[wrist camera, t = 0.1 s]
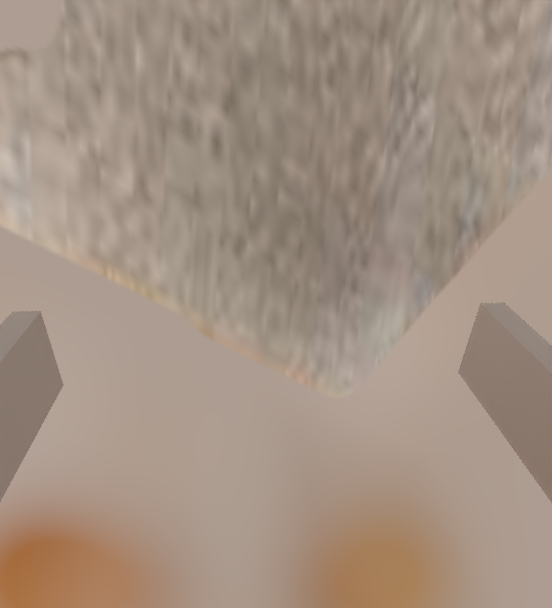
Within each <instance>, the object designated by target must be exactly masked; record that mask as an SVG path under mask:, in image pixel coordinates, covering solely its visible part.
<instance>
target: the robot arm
mask: <svg viewBox="0 0 552 608" xmlns="http://www.w3.org/2000/svg"><path fill="white" fill-rule="evenodd" d="M459 374H460V375H461V376H462V378H463V379H464V381H465V382H466V383H467V385H468V386H469V388H470V389H471V390H472V392H473V393H474V395H475V396H476V397H477V399H478V400H479V402H480V403H481V404H482V406H483V407H484V409H485V410H486V411H487V413H488V414H489V415H490V417H491V418H492V420H493V421H494V422H495V424H496V425H497V427H498V428H499V430H500V431H501V432H502V434H503V435H504V437H505V438H506V439H507V441H508V442H509V444H510V445H511V446H512V448H513V449H514V451H515V452H516V453H517V455H518V456H519V458H520V459H521V460H522V462H523V463H524V465H525V466H526V467H527V469H528V470H529V472H530V473H531V474H532V476H533V477H534V479H535V480H536V481H537V483H538V484H539V485H540V487H541V488H542V490H543V491H544V492H545V494H546V495H547V497H548V498H549V499H550V501H551V502H552V345H550V344H549V343H548V342H547V341H546V340H545V339H544V338H543V337H542V336H540V335H539V334H538V333H537V332H536V331H535V330H534V329H532V327H530V326H529V325H528V324H527V323H526V322H525V321H524V320H522V319H521V318H520V317H519V316H518V315H517V314H516V313H515V312H514V311H513V310H511V309H510V308H509V307H508V306H507V305H506V304H505V303H481V304H480V307H479V310H478V313H477V316H476V319H475V322H474V325H473V328H472V332H471V335H470V338H469V341H468V344H467V347H466V350H465V354H464V356H463V360H462V363H461V366H460V369H459ZM62 387H63V382H62V379H61V376H60V373H59V370H58V366H57V363H56V360H55V356H54V354H53V350H52V347H51V343H50V340H49V337H48V334H47V331H46V327H45V324H44V321H43V317H42V314H41V312H40V311H35V312H34V311H31V312H12V313H11V314H10V315H9V316H8V317H7V318H6V320H5V321H4V322H3V323H2V324H1V325H0V501H1V499H2V498H3V496H4V494H5V492H6V490H7V488H8V487H9V485H10V482H11V481H12V479H13V477H14V475H15V474H16V472H17V470H18V468H19V466H20V464H21V463H22V461H23V459H24V457H25V455H26V453H27V451H28V450H29V448H30V446H31V444H32V442H33V440H34V439H35V437H36V435H37V433H38V431H39V429H40V427H41V425H42V424H43V422H44V420H45V418H46V416H47V414H48V413H49V411H50V409H51V407H52V405H53V403H54V402H55V400H56V398H57V396H58V394H59V392H60V390H61V389H62Z"/></svg>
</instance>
